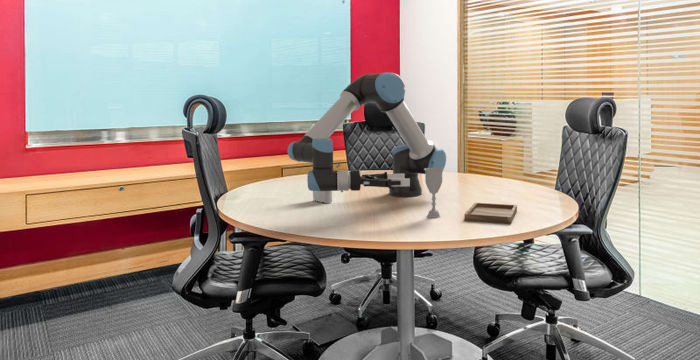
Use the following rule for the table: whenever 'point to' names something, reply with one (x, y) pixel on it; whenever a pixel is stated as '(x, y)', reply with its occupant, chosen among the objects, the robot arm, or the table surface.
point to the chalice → (433, 187)
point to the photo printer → (322, 196)
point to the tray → (491, 213)
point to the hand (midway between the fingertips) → (407, 179)
